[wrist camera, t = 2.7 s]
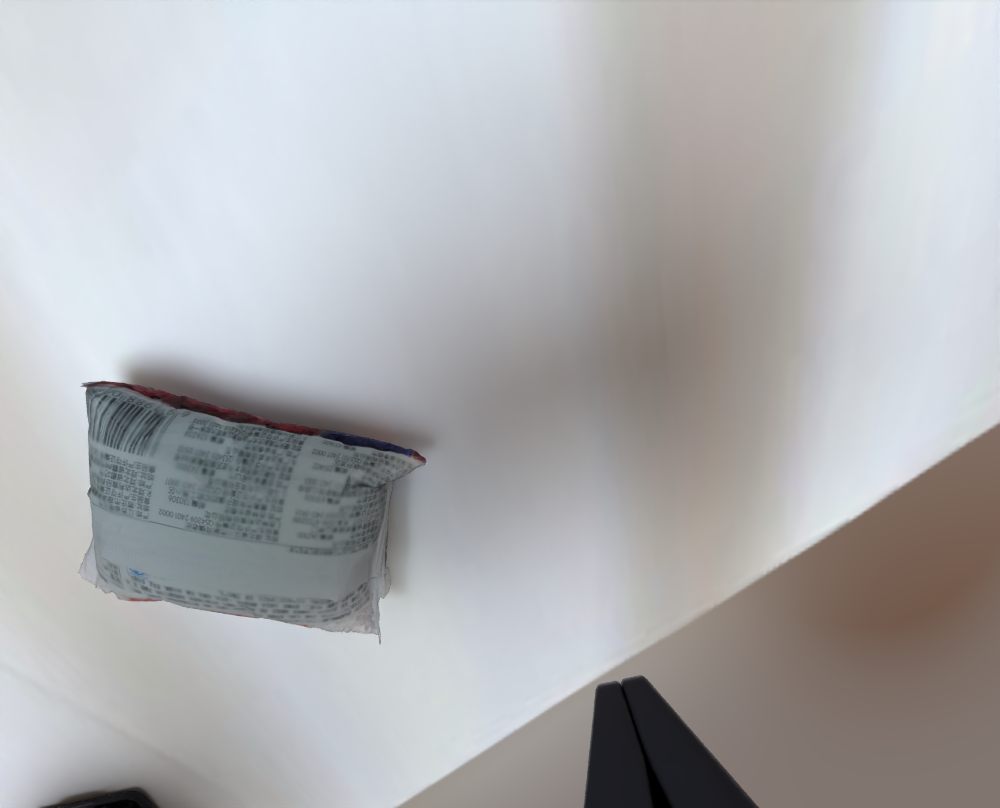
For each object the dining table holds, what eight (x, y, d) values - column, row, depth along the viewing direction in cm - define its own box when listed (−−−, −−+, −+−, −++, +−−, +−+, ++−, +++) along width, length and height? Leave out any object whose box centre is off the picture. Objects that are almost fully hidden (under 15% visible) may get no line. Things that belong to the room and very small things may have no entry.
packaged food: (390, 597, 22) (367, 694, 17) (114, 544, 20) (6, 636, 16) (434, 427, 19) (420, 488, 14) (119, 351, 18) (-9, 392, 13)
